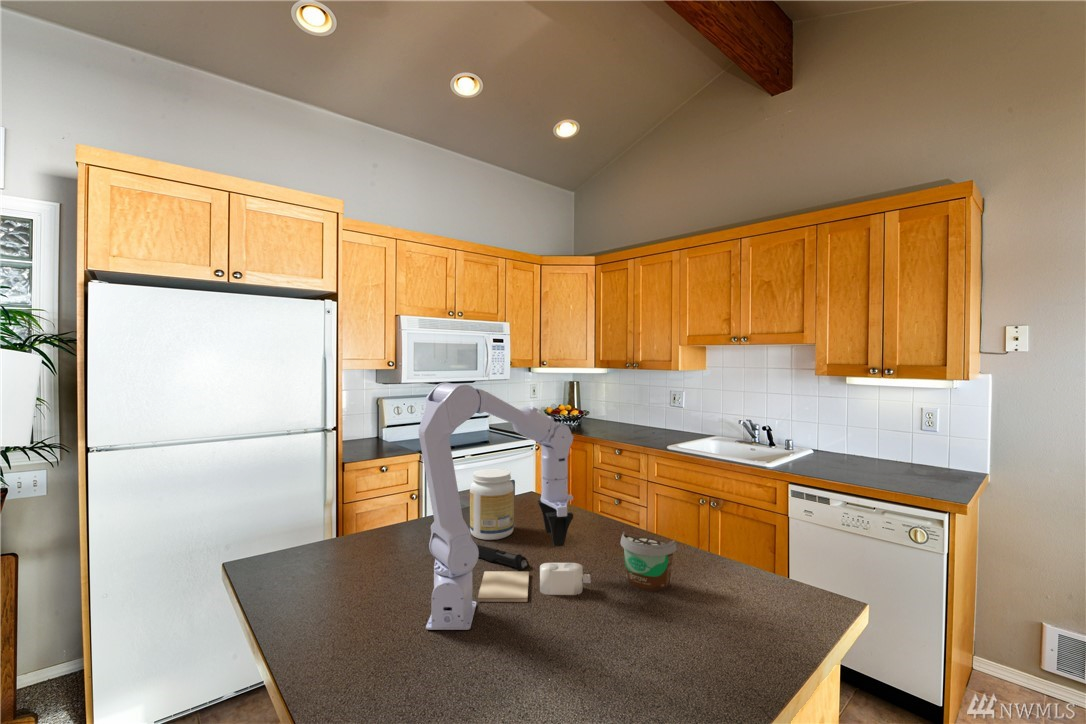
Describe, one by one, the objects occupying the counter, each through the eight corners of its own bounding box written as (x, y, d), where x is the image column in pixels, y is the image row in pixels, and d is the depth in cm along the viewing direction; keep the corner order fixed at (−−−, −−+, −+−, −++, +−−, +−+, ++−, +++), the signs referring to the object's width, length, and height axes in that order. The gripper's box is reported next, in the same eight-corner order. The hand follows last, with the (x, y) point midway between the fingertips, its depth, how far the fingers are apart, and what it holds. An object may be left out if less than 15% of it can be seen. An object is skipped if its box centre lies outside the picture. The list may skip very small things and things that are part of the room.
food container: (612, 585, 106) (612, 539, 105) (621, 574, 111) (621, 530, 111) (669, 599, 100) (670, 550, 100) (676, 586, 105) (676, 540, 105)
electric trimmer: (479, 553, 123) (479, 541, 123) (530, 567, 115) (530, 553, 115) (469, 558, 120) (469, 545, 120) (521, 573, 112) (520, 559, 112)
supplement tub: (522, 530, 138) (522, 471, 138) (495, 544, 128) (496, 480, 128) (488, 522, 145) (488, 465, 145) (460, 535, 134) (460, 474, 134)
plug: (589, 585, 105) (589, 562, 105) (590, 595, 101) (591, 571, 101) (539, 585, 105) (540, 562, 105) (539, 594, 101) (539, 570, 101)
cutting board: (527, 601, 98) (527, 597, 98) (477, 601, 98) (477, 597, 98) (528, 575, 110) (528, 571, 110) (484, 574, 110) (484, 571, 110)
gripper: (581, 484, 100) (581, 550, 101) (564, 468, 115) (564, 525, 115) (547, 486, 99) (548, 553, 99) (534, 469, 113) (534, 528, 113)
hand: (554, 538), depth 107 cm, fingers open, 7 cm apart
